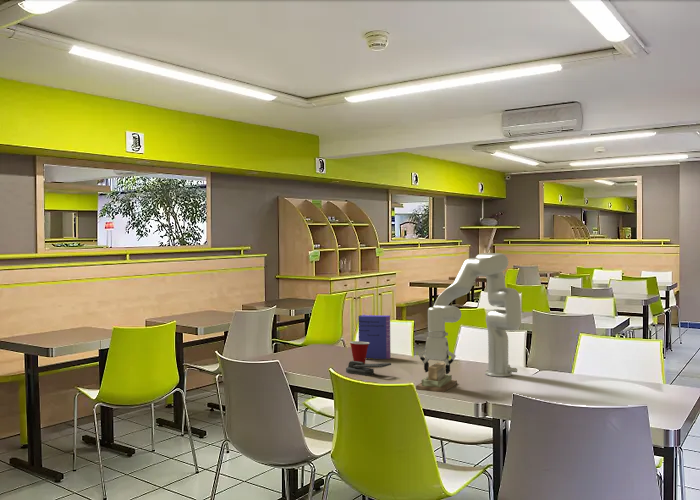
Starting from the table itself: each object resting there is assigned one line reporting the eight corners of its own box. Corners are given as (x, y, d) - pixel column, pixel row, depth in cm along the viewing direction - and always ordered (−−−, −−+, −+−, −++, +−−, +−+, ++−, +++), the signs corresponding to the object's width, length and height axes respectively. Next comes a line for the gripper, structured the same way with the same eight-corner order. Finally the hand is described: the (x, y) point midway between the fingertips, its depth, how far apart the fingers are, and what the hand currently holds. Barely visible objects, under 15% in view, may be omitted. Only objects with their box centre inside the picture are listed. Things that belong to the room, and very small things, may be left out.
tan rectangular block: (445, 380, 287) (445, 363, 287) (437, 386, 276) (436, 367, 276) (436, 379, 289) (436, 362, 289) (427, 385, 278) (427, 367, 278)
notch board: (457, 383, 288) (456, 374, 288) (444, 391, 272) (444, 382, 272) (430, 381, 294) (430, 372, 294) (416, 389, 278) (415, 380, 278)
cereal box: (390, 357, 356) (390, 315, 356) (389, 359, 352) (389, 316, 351) (360, 357, 359) (359, 315, 359) (358, 358, 354) (358, 316, 354)
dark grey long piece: (381, 365, 299) (343, 359, 316) (381, 379, 299) (343, 372, 316) (393, 362, 306) (355, 356, 323) (393, 376, 306) (355, 369, 323)
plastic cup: (374, 363, 338) (373, 341, 337) (358, 366, 331) (358, 343, 331) (360, 361, 346) (360, 339, 346) (345, 363, 339) (345, 341, 339)
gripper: (457, 334, 282) (458, 372, 282) (421, 332, 290) (422, 369, 290) (452, 336, 275) (453, 375, 275) (415, 334, 283) (416, 372, 283)
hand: (437, 372), depth 283 cm, fingers open, 9 cm apart
